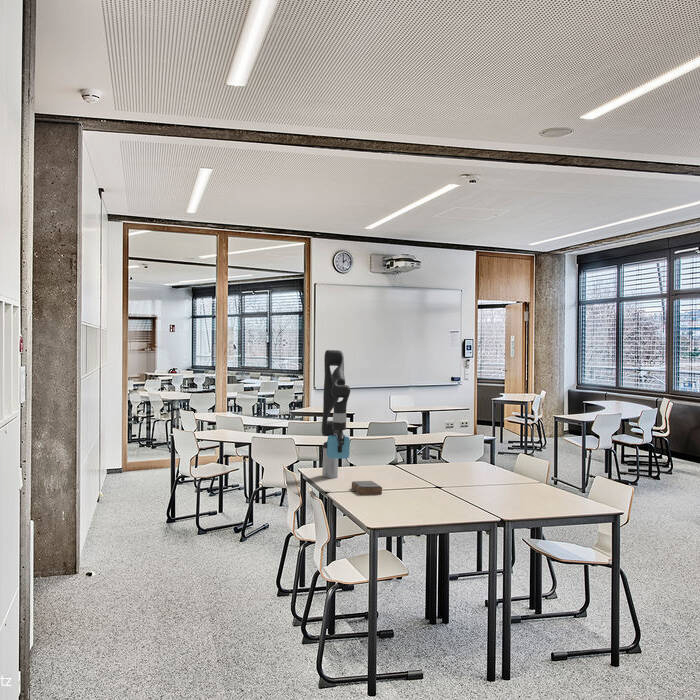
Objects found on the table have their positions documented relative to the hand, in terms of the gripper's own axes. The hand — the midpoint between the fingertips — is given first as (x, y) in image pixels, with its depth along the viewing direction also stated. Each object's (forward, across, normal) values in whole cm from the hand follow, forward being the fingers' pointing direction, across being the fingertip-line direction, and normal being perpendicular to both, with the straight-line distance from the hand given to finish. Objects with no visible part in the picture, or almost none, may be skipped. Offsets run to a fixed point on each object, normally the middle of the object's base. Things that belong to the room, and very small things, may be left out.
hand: (338, 451), depth 353 cm
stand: (+19, +13, +13) cm, 27 cm away
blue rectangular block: (+4, 0, 0) cm, 4 cm away
